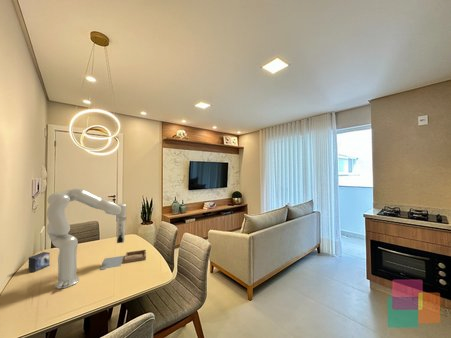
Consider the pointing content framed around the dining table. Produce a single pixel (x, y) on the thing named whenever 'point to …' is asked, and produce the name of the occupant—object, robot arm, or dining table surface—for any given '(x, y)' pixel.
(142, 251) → the walnut bin
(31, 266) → the small box
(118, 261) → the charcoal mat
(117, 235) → the sage block
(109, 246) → the dining table surface
